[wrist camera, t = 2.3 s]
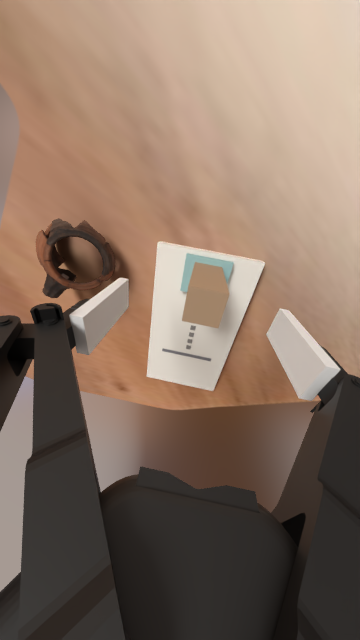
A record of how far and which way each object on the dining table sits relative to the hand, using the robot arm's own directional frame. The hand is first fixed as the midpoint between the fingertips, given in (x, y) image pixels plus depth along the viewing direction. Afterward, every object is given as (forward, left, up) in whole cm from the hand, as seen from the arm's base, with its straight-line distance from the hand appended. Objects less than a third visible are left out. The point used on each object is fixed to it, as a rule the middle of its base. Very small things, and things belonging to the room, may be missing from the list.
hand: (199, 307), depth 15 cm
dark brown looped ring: (+18, +1, -12) cm, 22 cm away
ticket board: (0, +10, -12) cm, 15 cm away
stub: (0, 0, -10) cm, 10 cm away
